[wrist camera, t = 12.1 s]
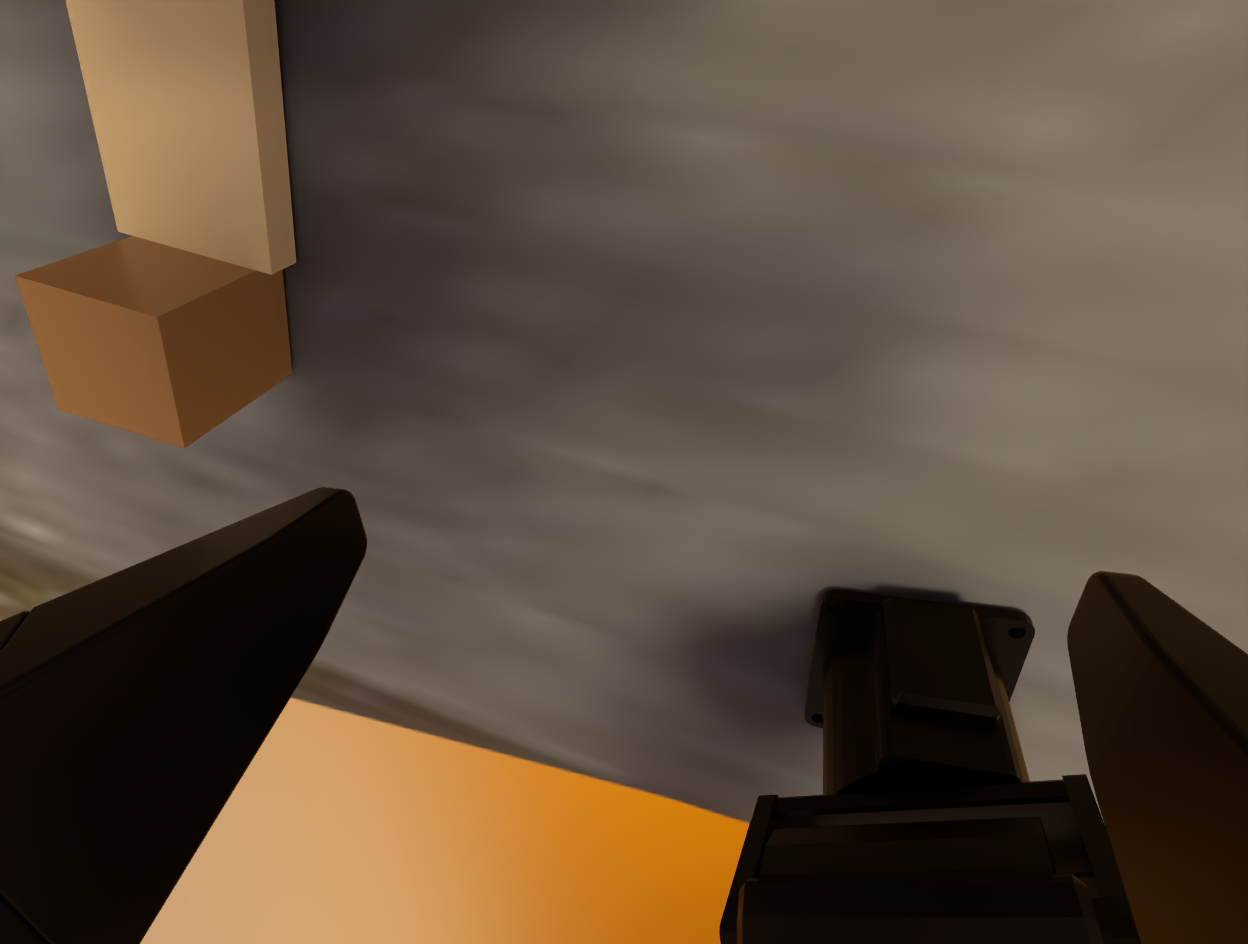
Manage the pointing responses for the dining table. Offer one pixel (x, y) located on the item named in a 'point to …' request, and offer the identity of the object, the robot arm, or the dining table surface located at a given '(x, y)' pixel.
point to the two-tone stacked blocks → (175, 222)
